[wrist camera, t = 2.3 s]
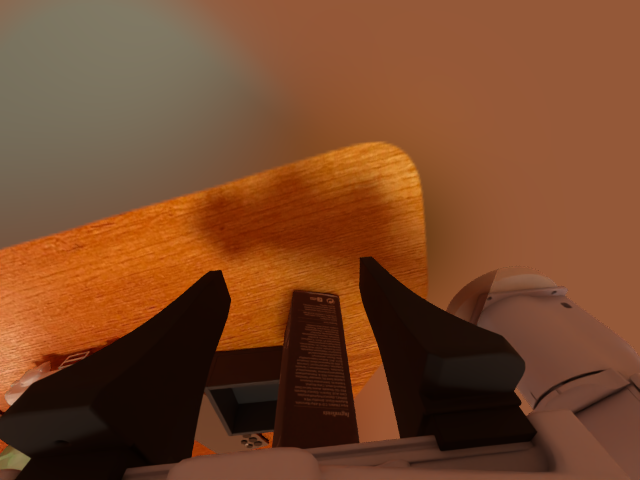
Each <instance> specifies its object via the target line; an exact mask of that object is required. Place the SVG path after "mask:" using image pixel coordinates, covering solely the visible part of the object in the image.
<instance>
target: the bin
mask: <svg viewBox="0 0 640 480" xmlns="http://www.w3.org/2000/svg"><path fill="white" fill-rule="evenodd" d="M282 352H283V346H279V347H268V348H257V349H247V350H236V351H226V352H215V354H214V357H213V360H212V363H211V366H210V370H209V374H208V378H207V382H206V386H205V390H204V392H205V394H206V396H207V397H208V399H209V401H210V403H211V405H212V407H213V408H214V410H215V412H216V414H217V416H218V418H219V419H220V421H221V423H222V425H223V427H224V429H225V430H226V432H227V434H228V436H237V435H247V434H257V433H266V432H274V426H275V417H276V408H277V399H278V388H279V381H280V371H281V362H282Z"/></svg>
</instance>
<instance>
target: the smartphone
mask: <svg viewBox="0 0 640 480" xmlns="http://www.w3.org/2000/svg"><path fill="white" fill-rule="evenodd" d="M194 440H196V441H198V442H199V443H201V444H202V445H204V446H206V447H207V448H209V449H211V450H212V451H214V452H216V453H217V454H221V453H230V452H239V451H248V450H252V449H256V448H259V447H263V446H267V445H268V444H269V442H268V441H267V440H266V439H264V438H263V437H262V436H261V435H259V434H258V433H257V434H247V435H237V436H228V434H227V432H226V430H225V429H224V427H223V425H222V423H221V421H220V419H219V418H218V416H217V414H216V412H215V410H214V408H213V407H212V405H211V403H210V401H209V399H208V397H207V396H206V394H205V392H204V394H203V399H202V403H201V408H200V413H199V418H198V423H197V428H196V433H195V439H194Z"/></svg>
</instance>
